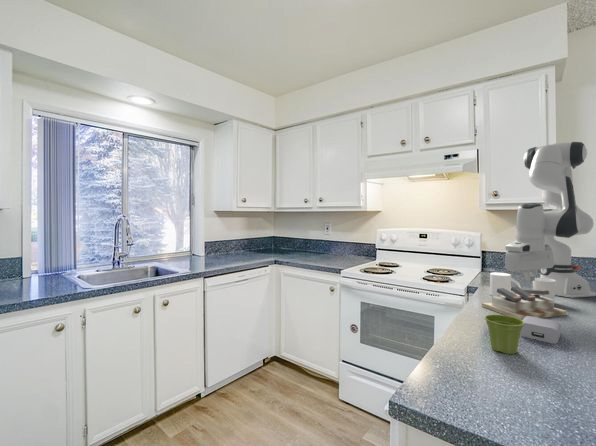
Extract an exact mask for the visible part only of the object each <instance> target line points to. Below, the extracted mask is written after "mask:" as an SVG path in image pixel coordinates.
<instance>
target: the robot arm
mask: <svg viewBox="0 0 596 446" xmlns="http://www.w3.org/2000/svg"><path fill="white" fill-rule="evenodd" d="M587 155H588V149H587V147H586V145H585V143H583V142H582V141H571V142H558V143H553V144H546V145H541V146H535V147H532V148H531V147H530V148H528V150H527V149H526V151H525V153H524V155H523V164H524V167H525V168H526V169H528V170H529V174H528V177H529V178H528V179H529V182H530V183H531V185H533V186H534V187H536V188H538V189H540V190H541V199H542V201H543V202H544V203H546V204H548V205H551V206H554V207H556V208H557V209H558V211H545V210H544V209H545V208H544V206H543V204H541V203H536V202H534V203H533V202H532V203H531V202H529V203H523V204H520V205H519V206H518V208H517V213H516V220H515V222H516V223H515V225H516V226H515V228H516V230H517V232H516V233H517V234H516V237H515V240H513V241H512V242H510V243H507V244H506V245H505V247H504V248H505V251H506V252H505V257H504V267H505V269H506V270H507V271H508V272H521V273H522V274H523V276H524V281H525V282H533V281H535V278H536V275H538V271H540V275H539V278H548V279H553V280H556V288H555V296H560V297H566V298H586V297H596V292H595V291H591V287H590V282H589V281H588V280H587V279H586V278H584V277H582V276H581V275H580V274H578V273H576V271H580V270H581V266H580V265H573V264H572V249H571V247H570V246H569V245H567V244H566V243H563V242H561V241H559V240H557V239H556V238H555V237H559V238H564V239H565V238H566V239H569V238H572V237H574V236H578V235H579V236H580V235H587V234H589V233H590V232H591V231H592V229H593V228H594V225H595V224H594V223H595V222H594V220H593V218H592V216H590V215H589V213H587V212H585V211H583V209H581V208H580V207H579V206H578V205H577V203H576V196H575V191H574V184H573V171H572V169H573V170H574V169H576V168H577V167H578V166H580V165H582V164H583V163H584V162H585V159H586V158H587Z"/></svg>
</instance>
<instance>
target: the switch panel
mask: <svg viewBox="0 0 596 446" xmlns="http://www.w3.org/2000/svg"><path fill="white" fill-rule="evenodd" d="M516 295H517V296H519V297H521V296H520V295H518V294H516ZM531 295H533V296H535V297H536V299H535V300H534V301H528V300H526V299H525V298H523V297H521V301H518V302H514V301H512V300H510V299H508V298H507V297H505V296H491V301H490V302H482V303H481V307H482V308H485V309H487V310H490V311H493V312H496V313H498V314H500V315H505V316H510V317H514V318H517V319H520V320H523V319H524V318H525V317H526V316H531V317H537V318H542V319H545V318H549V317H551V318H553V317H558V316H559V317H561V316H567V314H568V313H567V310H564V309H561V308H557V307H555V298H554V299H550V298H546V297H542V296H540V295H534V294H531Z"/></svg>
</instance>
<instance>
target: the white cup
mask: <svg viewBox="0 0 596 446" xmlns="http://www.w3.org/2000/svg"><path fill="white" fill-rule="evenodd" d="M555 288H556V280H553V279H548V278H540V277H535V281H532V290H548V291H549V294H547V295H540V296H542V297H546V298H550V299H554V300H555V296H556V295H555ZM534 295H539V294H534Z"/></svg>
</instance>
